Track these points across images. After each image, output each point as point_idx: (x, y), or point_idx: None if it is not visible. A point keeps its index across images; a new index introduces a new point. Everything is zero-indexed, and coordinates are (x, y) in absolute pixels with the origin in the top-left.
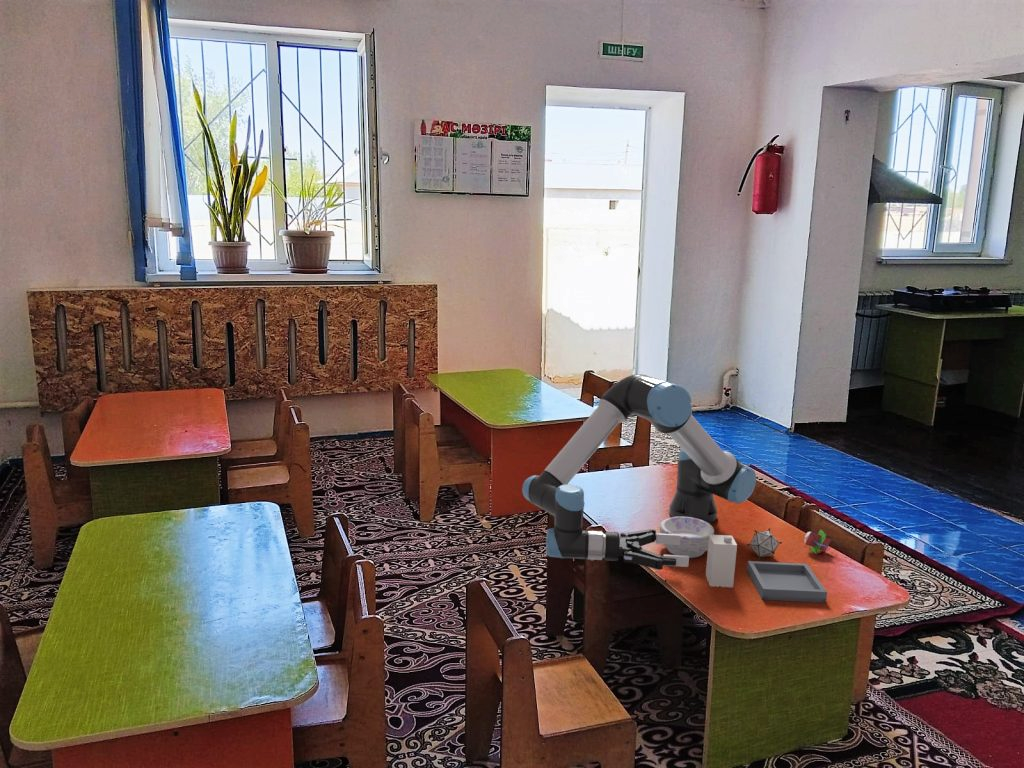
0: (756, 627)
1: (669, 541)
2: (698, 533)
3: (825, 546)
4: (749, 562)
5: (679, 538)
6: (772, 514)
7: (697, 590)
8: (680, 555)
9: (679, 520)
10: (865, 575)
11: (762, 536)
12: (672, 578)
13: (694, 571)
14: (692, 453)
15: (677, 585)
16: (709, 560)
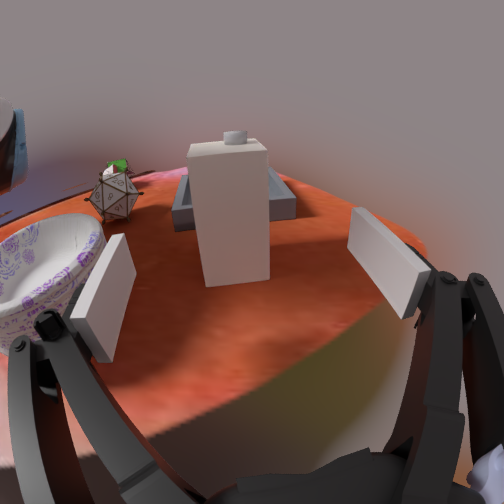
0: (399, 227)
1: (120, 294)
2: (37, 261)
3: (129, 173)
4: (177, 209)
5: (127, 248)
6: (18, 219)
7: (309, 302)
8: (369, 223)
9: None
10: (185, 169)
11: (116, 179)
12: (246, 367)
13: (180, 309)
14: None
15: (298, 350)
16: (231, 227)
